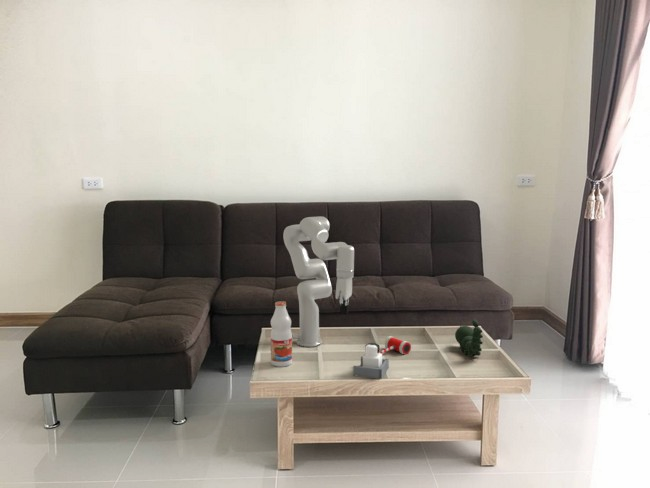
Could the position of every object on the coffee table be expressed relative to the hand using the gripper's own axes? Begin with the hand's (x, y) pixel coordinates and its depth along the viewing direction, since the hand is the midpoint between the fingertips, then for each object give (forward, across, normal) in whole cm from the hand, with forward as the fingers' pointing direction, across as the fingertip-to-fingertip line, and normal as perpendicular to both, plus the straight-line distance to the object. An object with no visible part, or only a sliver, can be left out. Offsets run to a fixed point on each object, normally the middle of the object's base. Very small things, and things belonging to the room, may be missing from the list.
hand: (344, 313), depth 260 cm
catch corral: (+22, +9, +15) cm, 28 cm away
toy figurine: (+22, -31, +52) cm, 64 cm away
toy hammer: (+23, -16, +18) cm, 33 cm away
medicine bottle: (+22, +8, +16) cm, 28 cm away
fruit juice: (+23, +12, -25) cm, 36 cm away
